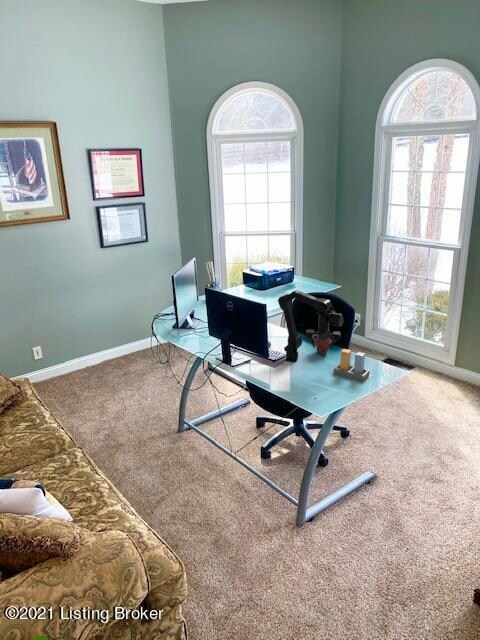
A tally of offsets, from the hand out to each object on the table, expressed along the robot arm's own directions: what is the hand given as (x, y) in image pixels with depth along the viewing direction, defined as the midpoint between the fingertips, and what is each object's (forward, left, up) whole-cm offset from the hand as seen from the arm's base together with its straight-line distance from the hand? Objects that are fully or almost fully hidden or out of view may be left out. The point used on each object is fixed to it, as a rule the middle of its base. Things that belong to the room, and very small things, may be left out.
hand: (322, 348), depth 263 cm
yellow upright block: (+13, -4, -11) cm, 18 cm away
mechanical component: (-1, +22, -12) cm, 25 cm away
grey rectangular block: (+20, -7, -11) cm, 24 cm away
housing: (+17, -5, -12) cm, 21 cm away
